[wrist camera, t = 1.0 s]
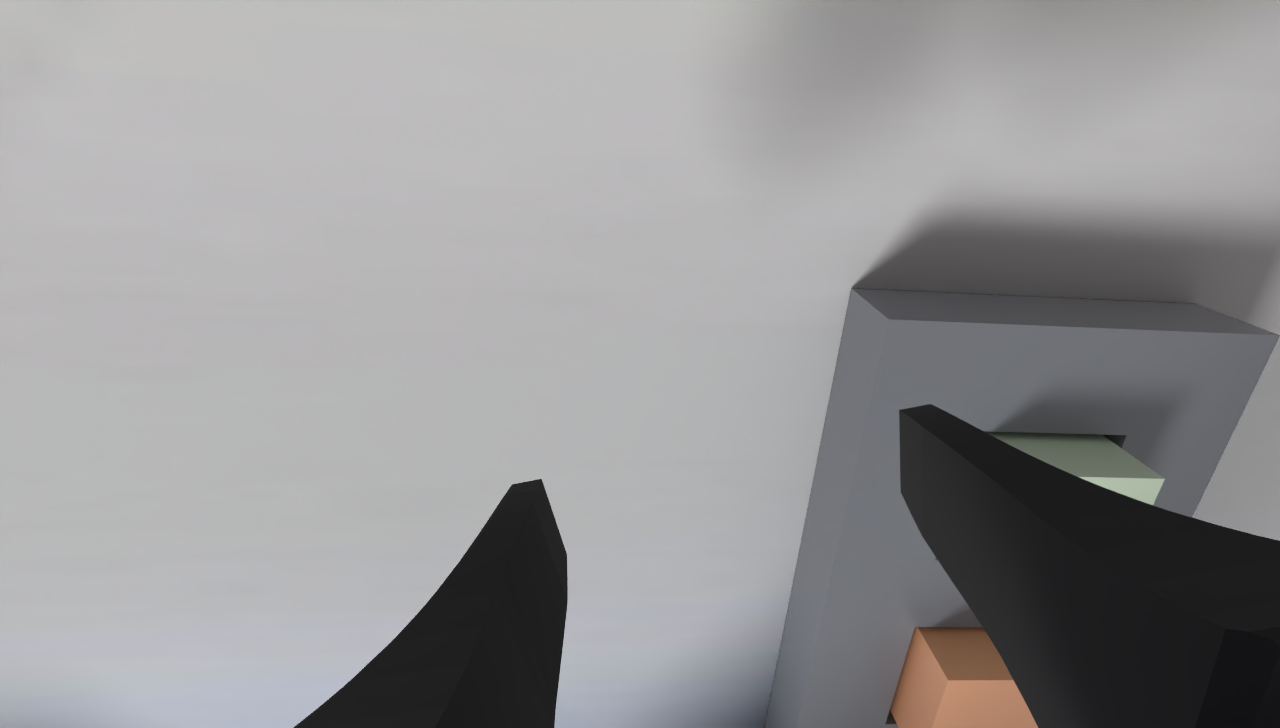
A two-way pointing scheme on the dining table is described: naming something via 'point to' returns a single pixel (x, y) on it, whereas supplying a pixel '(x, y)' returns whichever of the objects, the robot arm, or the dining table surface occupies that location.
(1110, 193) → the dining table surface
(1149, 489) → the sage button
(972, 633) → the rust button
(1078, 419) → the button panel
